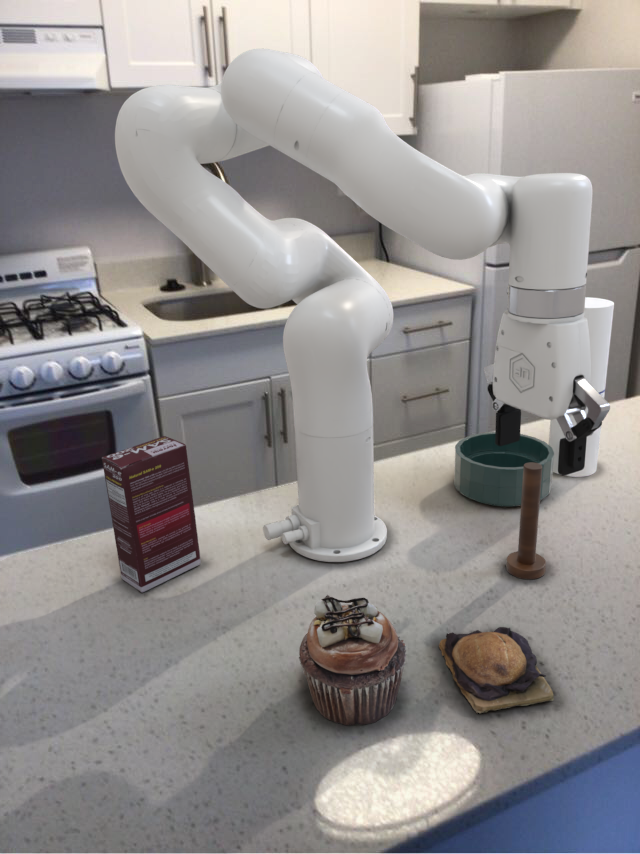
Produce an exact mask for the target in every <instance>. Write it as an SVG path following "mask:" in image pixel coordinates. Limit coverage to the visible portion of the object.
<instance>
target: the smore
mask: <svg viewBox="0 0 640 854" xmlns="http://www.w3.org/2000/svg"><path fill="white" fill-rule="evenodd" d="M438 648H439V649H440V651H441V656H444V658H443V659H444V660H445V665H446V666H447V668H448V669H450V672H451V674H452V675H451V676H452V679H453V680H454V682H455V683H456V685H457V687H459V689H460V692H461V693H462V695H463V696H464V697H465V699H467V701H468V703H469V704H470V706H471V707H472V709H473V710H474V711H475V713H476V714H478V713H479V714H482V713H488V712H489V711H494V712H495V711H497V710H501V709H507V708H508V709H509V708H513V707H516V706H519V707H523V706H529V705H534V704H538V703H543V702H550V701H551V702H552V701H555V698H554V692H553V690H552V688H551V686H550V685H549V683H548V682H547V680H546V679H545V677H547V675H546V674H543V673H542V672H541V671H540V669H539V667H538V666H537V663H538V660H537V656H536V654H534V653H533V650H532V647H531V645H530V644H529V641H528V639H526V638H525V636H524V635H521V634H519V633H518V632H515V631H513V630H511V627H505V626H499V627H497V628H495V629H494V630H493V631H483V632H482V631H480V630H479V629H477V630H474V631H471V632H469V633H455V632H449V633H448V632H446V635H445V638H443V639H441V640H440V641H439V644H438Z"/></svg>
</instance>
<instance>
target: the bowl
mask: <svg viewBox="0 0 640 854" xmlns="http://www.w3.org/2000/svg"><path fill="white" fill-rule="evenodd" d="M529 462H534V463H538V464H541V465H542V479H541V492H540V501H542V500H544V499H545V498H547V497H548V496H549V495H550V493H551V490H552V486H553V476H554V475H553V474H554V472H553V463H554V452H553V449H552V447H551V446H549V443H547V442H545V441H544V440H542V439H540V438H537V437H534V436H531V435H526V434H523V433H520V440H519V441H517V442H514V443H510V444H507V445H503V446H498V445H496V444H495V431H489V432H479V433H475V434H471V435H468V436H465V437H464V438H462V439H460V440H458V442H457V443H456V444H455V445H454V467H453V468H454V469H453V472H454V473H453V485H454V488H455V489H456V490H457V492H458V493H460V494H462V495H463V496H464V497H466V498H468V499H469V500H472V501H475V502H478V503H481V504H484V505H489V506H493V507H508V508H510V507H512V508H513V507H521V497H522V482H523V467H524V464H525V463H529Z"/></svg>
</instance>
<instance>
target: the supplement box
mask: <svg viewBox="0 0 640 854" xmlns="http://www.w3.org/2000/svg"><path fill="white" fill-rule="evenodd" d="M187 450H188V449H187V445H186V443H183V442H181V441H179V440H176V439H175V438H171V437H169V436H166V435H163V436H159V437H157V438H153V439H151V440H147V441H145V442H142V443H140V444H137V445H134V446H130V447H127V448H125V449H122V450H119V451H117V452H114V453H110V454H108V455H104V456H102V457H101V461H102V468H103V474H104V479H105V486H106V492H107V499H108V505H109V510H110V516H111V522H112V528H113V535H114V541H115V548H116V554H117V558H118V559H117V560H118V567H119V571H120V577H121V580H123V581H124V582H126V583H127V584H128V585H130V586H131V587H133V588H134V589H136V590H137V591H139V592H140V593H145V592H147V591H149V590H151V589H153V588H155V587H157V586H159V585H161V584H163V583H165V582H167V581H170V580H171V579H173V578H175V577H177V576H179V575H181V574H183V573H185V572H187V571H189V570H191V569H193V568H197V567H198V566H200V565H201V563H202V561H201V553H200V545H199V537H198V527H197V521H196V512H195V505H194V497H193V489H192V482H191V473H190V466H189V457H188V451H187Z"/></svg>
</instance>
